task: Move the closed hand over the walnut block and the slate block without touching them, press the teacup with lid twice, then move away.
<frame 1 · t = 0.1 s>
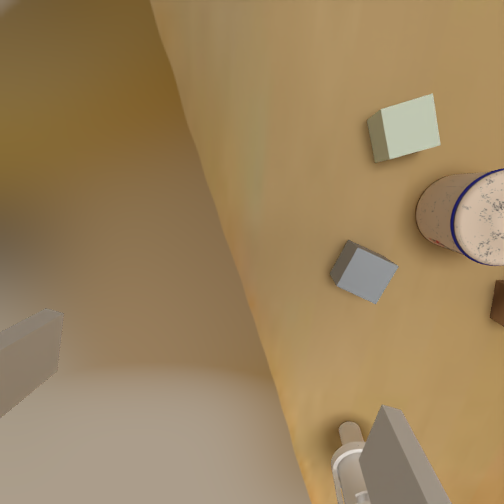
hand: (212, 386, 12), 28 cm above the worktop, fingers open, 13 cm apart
pale grey tall piece: (349, 429, 44), on the worktop
slate block: (356, 265, 39), on the worktop
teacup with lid: (464, 209, 36), on the worktop
sage block: (392, 135, 35), on the worktop
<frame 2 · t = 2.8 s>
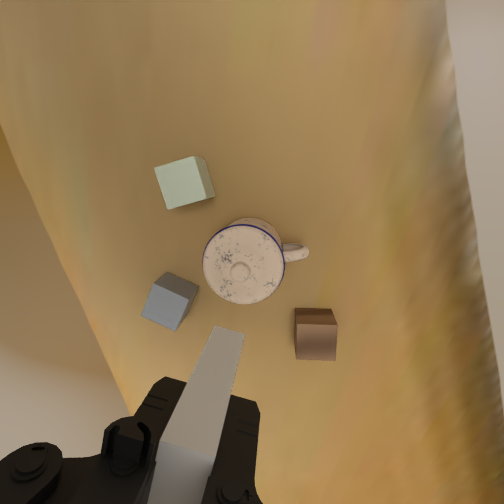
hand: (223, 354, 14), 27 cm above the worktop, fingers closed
slate block: (177, 293, 44), on the worktop
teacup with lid: (260, 246, 41), on the worktop
sage block: (192, 183, 40), on the worktop
walnut block: (312, 324, 43), on the worktop
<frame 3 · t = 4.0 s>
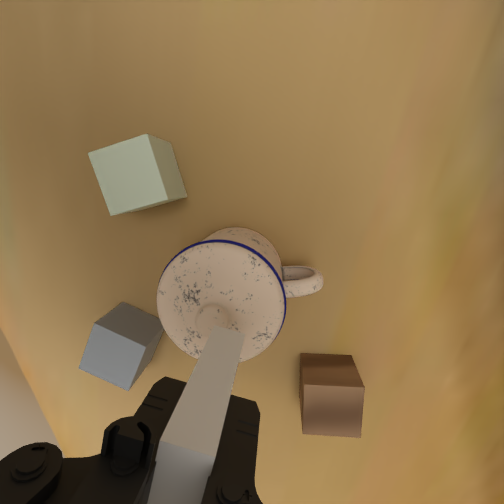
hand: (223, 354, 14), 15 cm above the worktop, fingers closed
slate block: (137, 331, 32), on the worktop
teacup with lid: (252, 268, 29), on the worktop
sage block: (154, 177, 28), on the worktop
walnut block: (324, 375, 31), on the worktop
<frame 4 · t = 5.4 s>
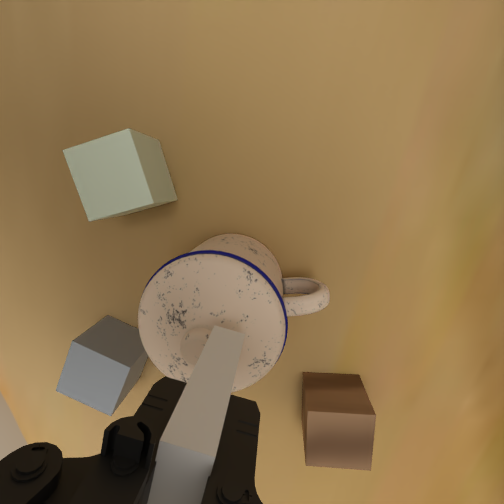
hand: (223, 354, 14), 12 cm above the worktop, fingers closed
slate block: (124, 347, 29), on the worktop
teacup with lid: (249, 278, 26), on the worktop
sage block: (141, 178, 25), on the worktop
walnut block: (329, 396, 28), on the worktop
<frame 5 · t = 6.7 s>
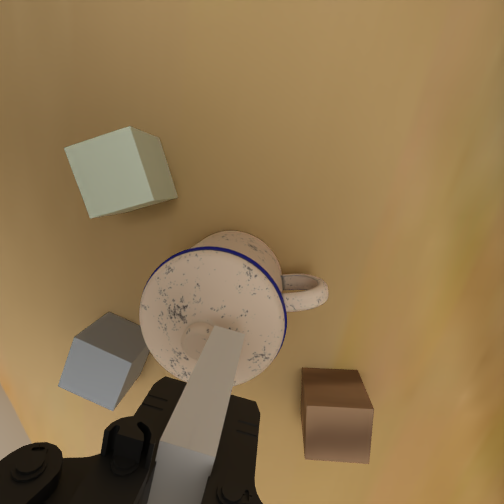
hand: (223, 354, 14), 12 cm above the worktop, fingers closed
slate block: (125, 343, 29), on the worktop
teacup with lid: (249, 275, 26), on the worktop
sage block: (142, 176, 25), on the worktop
walnut block: (328, 392, 28), on the worktop
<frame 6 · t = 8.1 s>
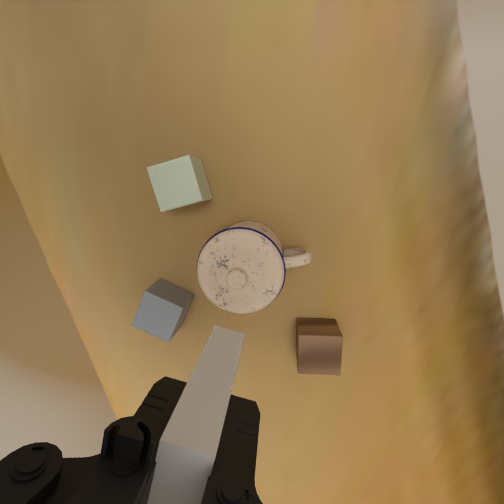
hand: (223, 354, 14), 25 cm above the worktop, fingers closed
slate block: (171, 301, 41), on the worktop
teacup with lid: (260, 252, 39), on the worktop
sage block: (188, 184, 38), on the worktop
walnut block: (315, 335, 40), on the worktop
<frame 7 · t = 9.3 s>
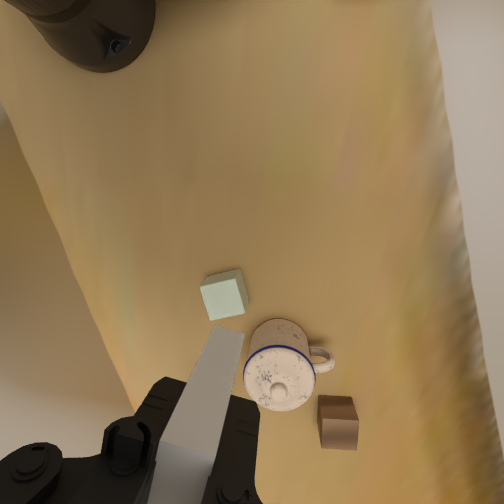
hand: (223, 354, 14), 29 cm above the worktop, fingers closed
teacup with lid: (288, 342, 46), on the worktop
sage block: (228, 287, 45), on the worktop
walnut block: (333, 409, 47), on the worktop
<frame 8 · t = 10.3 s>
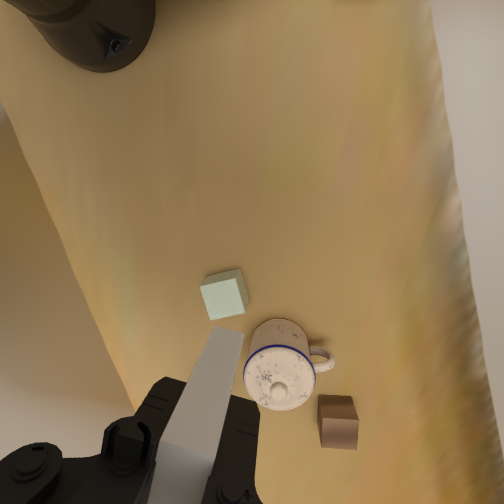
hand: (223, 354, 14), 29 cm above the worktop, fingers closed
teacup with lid: (288, 342, 46), on the worktop
sage block: (228, 287, 45), on the worktop
walnut block: (333, 408, 48), on the worktop
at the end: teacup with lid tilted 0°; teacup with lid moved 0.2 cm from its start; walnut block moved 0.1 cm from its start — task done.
